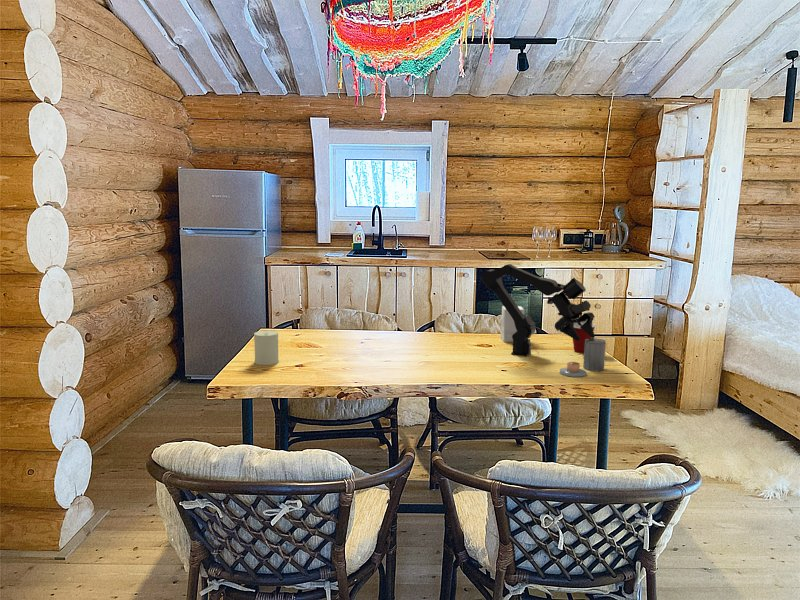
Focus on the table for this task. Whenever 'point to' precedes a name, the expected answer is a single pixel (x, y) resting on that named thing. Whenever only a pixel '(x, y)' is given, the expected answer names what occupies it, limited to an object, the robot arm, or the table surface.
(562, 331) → the robot arm
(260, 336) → the can
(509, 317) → the supplement box
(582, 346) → the plastic cup
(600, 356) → the grey flanged cylinder
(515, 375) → the table surface
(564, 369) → the bowl saucer
